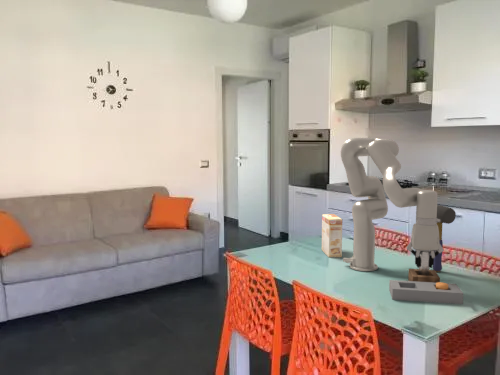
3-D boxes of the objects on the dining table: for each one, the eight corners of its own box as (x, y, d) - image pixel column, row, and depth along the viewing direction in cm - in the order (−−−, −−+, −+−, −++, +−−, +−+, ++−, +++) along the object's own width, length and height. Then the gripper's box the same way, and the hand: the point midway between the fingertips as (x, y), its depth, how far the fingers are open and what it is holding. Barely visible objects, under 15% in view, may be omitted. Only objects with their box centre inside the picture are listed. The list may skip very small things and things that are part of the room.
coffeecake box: (342, 257, 217) (343, 219, 215) (328, 257, 217) (328, 219, 214) (334, 249, 232) (334, 213, 230) (321, 249, 231) (321, 214, 229)
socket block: (392, 302, 158) (392, 288, 158) (389, 292, 168) (389, 279, 167) (462, 306, 154) (463, 293, 153) (455, 296, 163) (455, 283, 163)
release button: (436, 298, 158) (437, 285, 157) (434, 294, 162) (434, 281, 161) (449, 299, 157) (449, 286, 156) (446, 295, 161) (446, 282, 160)
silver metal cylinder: (419, 281, 171) (420, 252, 170) (417, 278, 175) (418, 249, 174) (429, 282, 170) (431, 252, 169) (427, 279, 174) (429, 250, 173)
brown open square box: (412, 291, 169) (412, 276, 168) (408, 282, 179) (408, 268, 178) (439, 292, 167) (440, 277, 166) (433, 284, 177) (434, 270, 176)
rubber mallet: (454, 274, 189) (457, 206, 185) (440, 276, 186) (443, 208, 183) (433, 266, 200) (436, 202, 197) (420, 268, 198) (423, 203, 194)
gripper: (446, 220, 172) (444, 265, 174) (402, 219, 175) (400, 262, 177) (451, 224, 165) (448, 270, 167) (405, 222, 168) (403, 268, 170)
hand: (424, 266), depth 172 cm, fingers closed on silver metal cylinder, 4 cm apart
